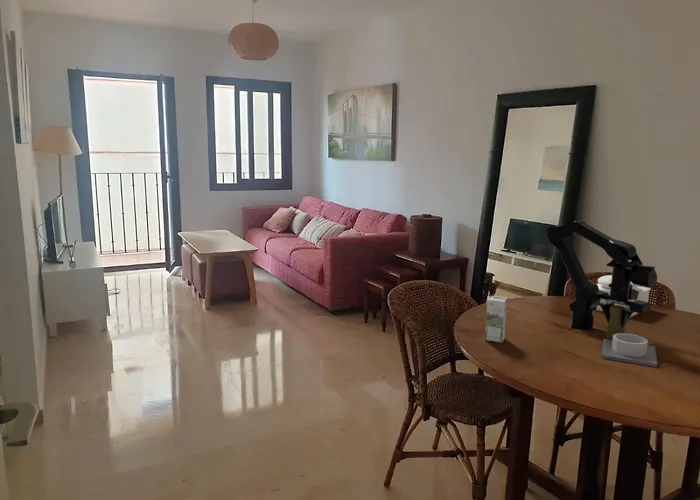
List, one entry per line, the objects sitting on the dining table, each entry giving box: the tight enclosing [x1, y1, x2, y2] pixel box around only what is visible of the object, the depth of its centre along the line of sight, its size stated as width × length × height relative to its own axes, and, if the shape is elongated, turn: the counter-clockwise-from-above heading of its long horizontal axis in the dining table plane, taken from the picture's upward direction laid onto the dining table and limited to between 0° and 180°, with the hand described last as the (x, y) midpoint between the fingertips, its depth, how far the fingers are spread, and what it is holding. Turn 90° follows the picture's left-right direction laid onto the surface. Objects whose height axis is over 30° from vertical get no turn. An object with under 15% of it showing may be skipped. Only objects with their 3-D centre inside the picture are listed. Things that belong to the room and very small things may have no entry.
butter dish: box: [595, 274, 652, 318], centre depth 216 cm, size 18×18×16 cm
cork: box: [604, 305, 626, 340], centre depth 183 cm, size 6×6×11 cm
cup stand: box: [600, 332, 658, 368], centre depth 169 cm, size 15×16×5 cm
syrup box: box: [484, 295, 508, 344], centre depth 179 cm, size 6×6×14 cm
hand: (616, 325), depth 183 cm, fingers closed on cork, 4 cm apart
